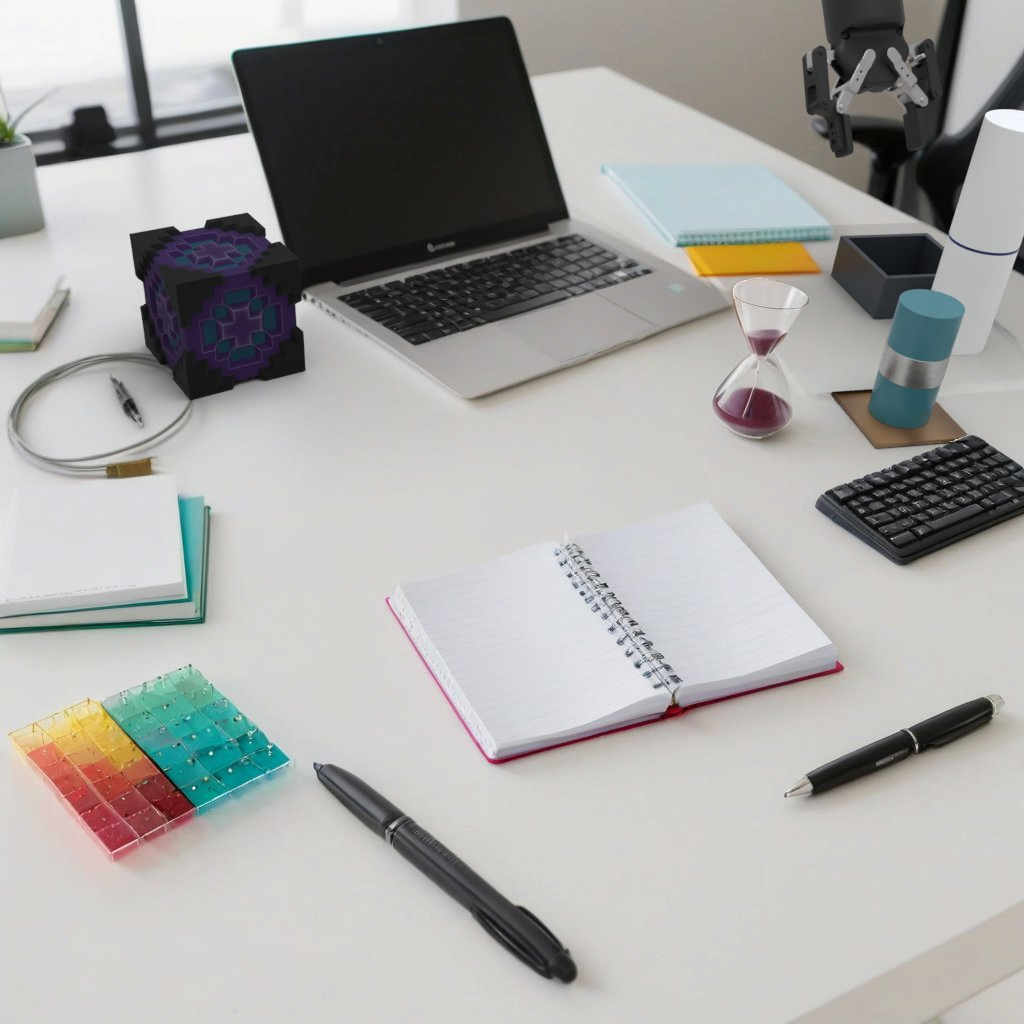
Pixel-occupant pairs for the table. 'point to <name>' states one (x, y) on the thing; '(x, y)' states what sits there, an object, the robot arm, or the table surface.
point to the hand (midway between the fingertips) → (881, 152)
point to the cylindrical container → (985, 228)
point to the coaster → (889, 436)
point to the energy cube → (219, 303)
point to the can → (915, 358)
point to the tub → (885, 268)
